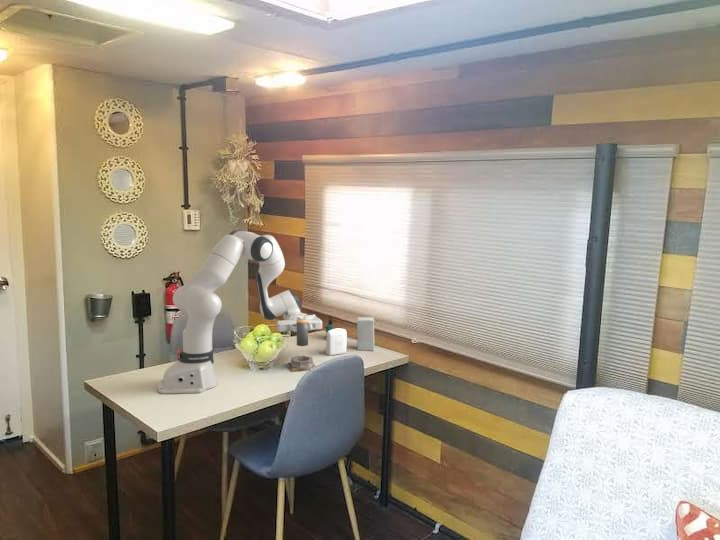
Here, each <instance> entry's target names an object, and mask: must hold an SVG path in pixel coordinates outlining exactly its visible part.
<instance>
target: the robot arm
mask: <svg viewBox="0 0 720 540" xmlns="http://www.w3.org/2000/svg"><path fill="white" fill-rule="evenodd" d="M240 258H243V259H247V260H251V261H255V262H257V263H258V264H259V265H258V266H259V267H258V271H257V272H256V273H255V281H256V282H255V283H256V289H257V294H258V300H259V310H260V311H259V312H260V315H261V316H262V317H263V318H264V319H265V320H268V321H273V320H275V319H277V318H278V317H281V316H283V317H282V318H283V320H282V319H281V320H277V322H275V323H274V326H275V327H276V329H277V332H280V333H281V332H282V333H285V332H294V333H297V319H308V332H309V331H311V332H312V330H315V331H316V330H322V329H323V321H322V319H320V318H319V317H317V316H316V314H315V313H313V314H312V313H303V312H301V311H302V308H303V306H302V302H301V300H300V297H299V296H298V295H297V293H296V292H295V291H293V290H291V289H287V290H285V291H282V292H279V293H278V294H276V295H273V296H271V297H269V292H268V288H269V286H270V284H271V283H272V282H273V281H274V280H276V279H277V278H278V277H279V276H280V275H281V274H282V273H283V272H284V269H285V268H286V267H285V266H286V261H285V257H284V253H283V251H282V249H281V246H280V245H279V243H278V241H277V239H276V238H275V237H274V236H273V235H271V234H261V235H260V234H256V233H255V232H251V231H246V230H242V229H236V230H235V229H234V230H232V231H230V233H229V234H226V235H224V236H222V238H221V239H220V240H219V241H218V242H217V244H215V246H214V247H213V249H211V251H210V253H209V254H208V256H207V257H206V259H205V261H204V262H203V264H202V265H201V267H200V268H199V269H198V271H196V273H195V274H194V275H193V276H192V277H191V278H189V280H188V281H186V283H185V284H183V285H182V286H179V287H178V288H177V289H176V290H175V291H174V292H173V295H172V303H173V304H174V306H175V308H177V309H178V310H179V311H180V312H182V313H184V314H187V316H188V318H187V323H186V327H185V328H184V329H183V331H182V349H177V350H176V355H177V360H176V361H175V362H174V363H173V364H172V365H170V366H169V367H168V368H166V370H165V372H164V374H163V377H162V378H163V379H162V380H161V381H159V382H158V384H157V391H158V393H160V394H196V393H198V394H199V393H203V392H204V391H206V390H209V389H212V388H214V387H215V386H217V385H218V381H217V378H216V372H215V367H214V362H215V352H214V348H213V328H214V323H215V319H216V318H217V316H218V315H219V314H220V312H221V310H222V305H223V304H222V303H223V302H222V300H221V298H220V297H219V296H218V294H216V293H214V292H215V291H216V290H217V289H218V288H220V287H221V286H224V285H225V284H226V282H227V280H228V279H229V277H230V275H231V274H232V272H233V270H234V269H235V267H236V266H237V264H238V262H239V260H240Z"/></svg>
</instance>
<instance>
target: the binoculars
mask: <svg viewBox="0 0 720 540" xmlns="http://www.w3.org/2000/svg"><path fill="white" fill-rule="evenodd" d="M327 320H328V321H327V324H326V326H325V327H324V328H325V329H326V330H325V334H326V335H325V339H326V338H327V332H328V331H330V330H332V329H335V328H334V324H333V321H334V320H333V318H331V317H329V318H328V319H327Z"/></svg>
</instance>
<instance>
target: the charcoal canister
mask: <svg viewBox="0 0 720 540" xmlns="http://www.w3.org/2000/svg"><path fill="white" fill-rule="evenodd" d="M296 346H298V347H305V346H309V331H308V319H297V332H296Z"/></svg>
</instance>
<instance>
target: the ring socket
mask: <svg viewBox="0 0 720 540" xmlns="http://www.w3.org/2000/svg"><path fill="white" fill-rule="evenodd" d="M286 363H287V364H286V365H287V366H288V369H290V372H291V373H294V372H308V370H309V371H311V370H310V369H311V368H313V367H315V366H316V365H315V363H314V359H313V357H312V356H308V355H295V356H293V357H291V359H290V362H289V361H288V362H286Z"/></svg>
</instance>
